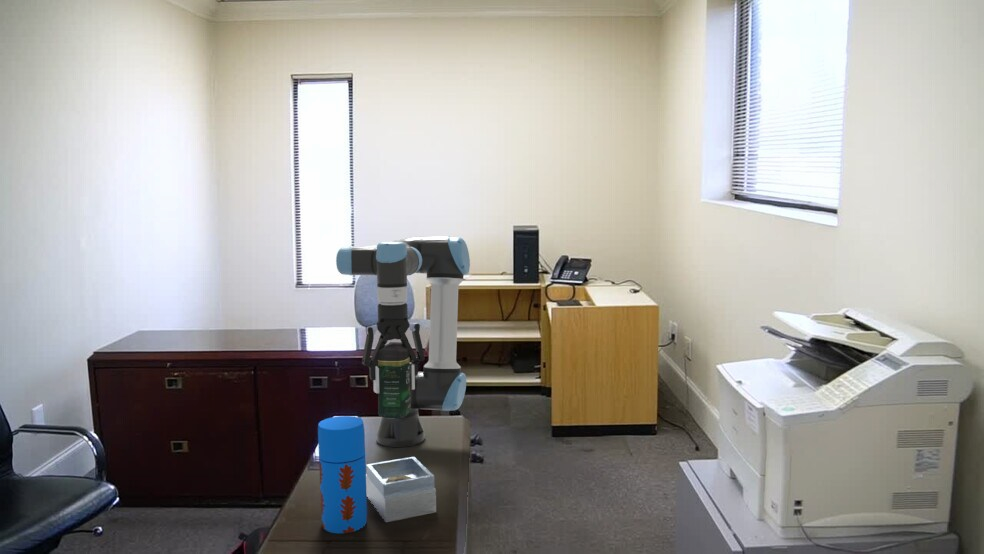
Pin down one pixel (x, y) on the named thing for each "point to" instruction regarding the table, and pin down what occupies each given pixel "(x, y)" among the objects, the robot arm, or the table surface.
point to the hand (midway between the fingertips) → (394, 390)
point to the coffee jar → (394, 381)
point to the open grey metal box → (400, 488)
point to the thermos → (342, 474)
